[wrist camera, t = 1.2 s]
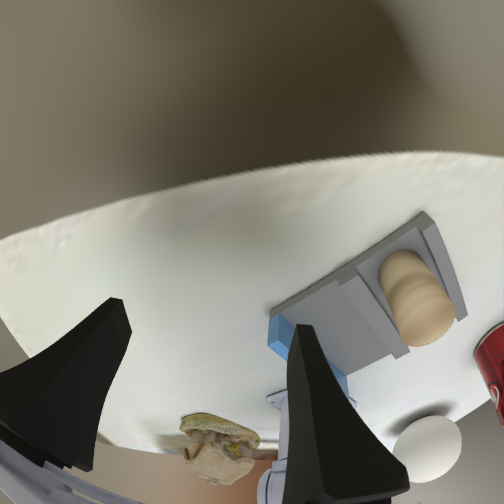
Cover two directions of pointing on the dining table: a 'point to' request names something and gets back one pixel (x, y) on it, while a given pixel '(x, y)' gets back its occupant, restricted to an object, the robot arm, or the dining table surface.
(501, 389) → the soda can
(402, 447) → the decorative ball
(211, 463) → the ceramic model
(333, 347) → the board
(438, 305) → the wooden plug
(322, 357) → the robot arm
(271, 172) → the dining table surface
